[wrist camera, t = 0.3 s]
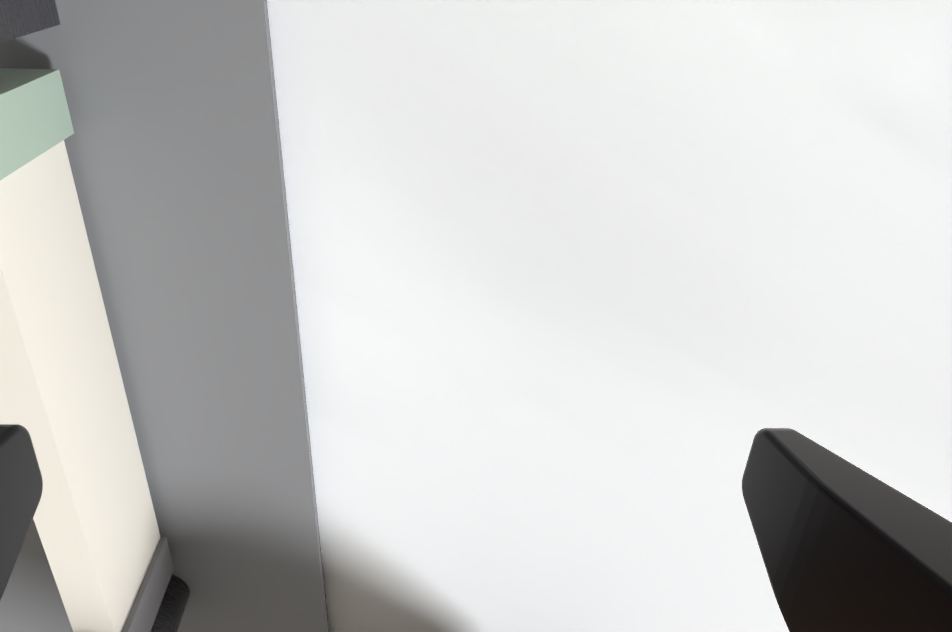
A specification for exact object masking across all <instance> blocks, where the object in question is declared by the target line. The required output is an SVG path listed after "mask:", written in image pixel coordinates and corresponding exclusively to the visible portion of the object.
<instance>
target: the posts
mask: <svg viewBox="0 0 952 632" xmlns="http://www.w3.org/2000/svg"><path fill="white" fill-rule="evenodd" d="M57 25H60V20H59V15H58V11H57V7H56V2H55V0H0V43H2V42H5V41H9V40H12V39H15V38H18V37H22V36H25V35H28V34H31V33H34V32H38V31H41V30H44V29H47V28H51V27H54V26H57ZM189 595H190V590H189V587H188V585H187V584H186V583H185V582H184V581H183V580H182V579H181V578H179V577H177V576H175V575H171V578H170V581H169V583H168V586H167V589H166V591H165V594H164V597H163V599H162V602H161V605H160V607H159V610H158V613H157V615H156V618H155V621H154V623H153V626H152V629H151V631H150V632H177V631H178V628H179V625H180V622H181V619H182V616H183V614H184V611H185V608H186V605H187V602H188V599H189Z"/></svg>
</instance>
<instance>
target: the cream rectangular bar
mask: <svg viewBox="0 0 952 632" xmlns="http://www.w3.org/2000/svg"><path fill="white" fill-rule="evenodd" d="M72 134H74V130H73V126H72V122H71V117H70V113H69V109H68V105H67V100H66V96H65V92H64V88H63V83H62V79H61V75H60V71H59V69H16V68H0V424H18V425H21V426H23V427H25V428H26V429H27V430H28V432H29V434H30V437H31V440H32V444H33V447H34V450H35V454H36V457H37V461H38V464H39V468H40V471H41V475H42V480H43V490H42V495H41V499H40V502H39V504H38V507H37V509H36V512H35V514H34V517H33V519H34V522H35V525H36V528H37V531H38V534H39V536H40V539H41V542H42V545H43V548H44V551H45V553H46V556H47V559H48V562H49V565H50V568H51V570H52V573H53V576H54V579H55V582H56V584H57V587H58V590H59V593H60V596H61V599H62V601H63V604H64V607H65V610H66V613H67V616H68V618H69V621H70V624H71V627H72V630H73V632H150V631H151V629H152V626H153V623H154V621H155V618H156V615H157V613H158V610H159V607H160V605H161V602H162V599H163V597H164V594H165V591H166V589H167V586H168V583H169V581H170V578H171V575H172V573H173V570H174V567H173V562H172V558H171V554H170V550H169V546H168V541H167V537H160V532H159V528H158V524H157V520H156V516H155V512H154V508H153V504H152V500H151V495H150V491H149V487H148V483H147V479H146V475H145V471H144V467H143V463H142V459H141V454H140V450H139V446H138V442H137V438H136V434H135V430H134V426H133V422H132V417H131V413H130V409H129V405H128V401H127V397H126V393H125V389H124V385H123V380H122V376H121V372H120V368H119V364H118V360H117V356H116V352H115V348H114V344H113V339H112V335H111V331H110V327H109V323H108V319H107V315H106V311H105V307H104V302H103V298H102V294H101V290H100V286H99V282H98V278H97V274H96V270H95V265H94V261H93V257H92V253H91V249H90V245H89V241H88V237H87V233H86V229H85V224H84V220H83V216H82V212H81V208H80V204H79V200H78V196H77V192H76V187H75V183H74V179H73V175H72V171H71V167H70V163H69V159H68V155H67V150H66V146H65V142H64V140H65V139H66V138H68V137H69V136H71V135H72Z"/></svg>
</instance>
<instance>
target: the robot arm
mask: <svg viewBox="0 0 952 632" xmlns="http://www.w3.org/2000/svg"><path fill="white" fill-rule="evenodd" d="M42 490H43V480H42V475H41V471H40V468H39V464H38V461H37V457H36V454H35V450H34V447H33V444H32V440H31V437H30V434H29V432H28V430H27V429H26V428H25V427H23V426H21V425H18V424H0V600H1V598H2V596H3V593H4V591H5V588H6V586H7V583H8V581H9V578H10V576H11V573H12V570H13V568H14V565H15V563H16V560H17V558H18V555H19V553H20V550H21V548H22V545H23V542H24V540H25V537H26V535H27V532H28V530H29V527H30V525H31V522H32V520H33V517H34V514H35V512H36V509H37V507H38V504H39V502H40V499H41V495H42ZM742 492H743V497H744V500H745V504H746V507H747V510H748V513H749V516H750V519H751V522H752V526H753V529H754V532H755V535H756V538H757V541H758V545H759V548H760V551H761V554H762V557H763V560H764V564H765V567H766V570H767V573H768V576H769V579H770V582H771V586H772V588H773V591H774V594H775V597H776V600H777V603H778V605H779V608H780V610H781V612H782V615H783V617H784V620H785V622H786V624H787V627H788V629H789V631H790V632H952V522H950V521H948V520H946V519H945V518H943V517H941V516H940V515H938V514H936V513H935V512H933V511H931V510H929V509H928V508H926V507H924V506H923V505H921V504H919V503H917V502H916V501H914V500H912V499H911V498H909V497H907V496H906V495H904V494H902V493H900V492H899V491H897V490H895V489H894V488H892V487H890V486H889V485H887V484H885V483H883V482H882V481H880V480H878V479H877V478H875V477H873V476H872V475H870V474H868V473H866V472H865V471H863V470H861V469H860V468H858V467H856V466H855V465H853V464H851V463H849V462H848V461H846V460H844V459H843V458H841V457H839V456H838V455H836V454H834V453H832V452H831V451H829V450H827V449H826V448H824V447H822V446H821V445H819V444H817V443H815V442H814V441H812V440H810V439H809V438H807V437H805V436H804V435H802V434H800V433H798V432H797V431H795V430H793V429H788V428H764V429H761V430H760V431H758V432H757V434H756V435H755V437H754V440H753V444H752V447H751V450H750V454H749V457H748V461H747V464H746V468H745V471H744V474H743V479H742Z"/></svg>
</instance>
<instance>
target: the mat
mask: <svg viewBox="0 0 952 632" xmlns="http://www.w3.org/2000/svg"><path fill="white" fill-rule="evenodd" d="M55 2H56V7H57V11H58V15H59V20H60V25H57V26H54V27H51V28H47V29H44V30H41V31H38V32H34V33H31V34H28V35H25V36H22V37H18V38H15V39H12V40H9V41H5V42H2V43H0V68H16V69H59V71H60V75H61V79H62V83H63V88H64V92H65V96H66V100H67V105H68V109H69V113H70V117H71V122H72V126H73V130H74V134H72V135H71V136H69V137H68V138H66V139H65V140H64V142H65V146H66V150H67V155H68V159H69V163H70V167H71V171H72V175H73V179H74V183H75V187H76V192H77V196H78V200H79V204H80V208H81V212H82V216H83V220H84V224H85V229H86V233H87V237H88V241H89V245H90V249H91V253H92V257H93V261H94V265H95V270H96V274H97V278H98V282H99V286H100V290H101V294H102V298H103V302H104V307H105V311H106V315H107V319H108V323H109V327H110V331H111V335H112V339H113V344H114V348H115V352H116V356H117V360H118V364H119V368H120V372H121V376H122V380H123V385H124V389H125V393H126V397H127V401H128V405H129V409H130V413H131V417H132V422H133V426H134V430H135V434H136V438H137V442H138V446H139V450H140V454H141V459H142V463H143V467H144V471H145V475H146V479H147V483H148V487H149V491H150V495H151V500H152V504H153V508H154V512H155V516H156V520H157V524H158V528H159V532H160V537H167V541H168V546H169V550H170V554H171V558H172V562H173V567H174V570H173V573H172V575H175V576H177V577H179V578H181V579H182V580H183V581H184V582H185V583H186V584H187V585H188V587H189V590H190V595H189V599H188V602H187V605H186V608H185V611H184V614H183V616H182V619H181V622H180V625H179V628H178V631H177V632H329V629H328V619H327V609H326V599H325V589H324V578H323V568H322V558H321V548H320V538H319V528H318V518H317V507H316V497H315V487H314V477H313V467H312V457H311V447H310V436H309V426H308V416H307V406H306V396H305V386H304V376H303V365H302V355H301V345H300V335H299V325H298V315H297V304H296V294H295V284H294V274H293V264H292V254H291V244H290V233H289V223H288V213H287V203H286V193H285V183H284V173H283V162H282V152H281V142H280V132H279V122H278V112H277V102H276V91H275V81H274V71H273V61H272V51H271V41H270V31H269V20H268V10H267V0H55ZM0 632H73V630H72V627H71V624H70V621H69V618H68V616H67V613H66V610H65V607H64V604H63V601H62V599H61V596H60V593H59V590H58V587H57V584H56V582H55V579H54V576H53V573H52V570H51V568H50V565H49V562H48V559H47V556H46V553H45V551H44V548H43V545H42V542H41V539H40V536H39V534H38V531H37V528H36V525H35V522H34V519H33V520H32V522H31V525H30V527H29V530H28V532H27V535H26V537H25V540H24V542H23V545H22V548H21V550H20V553H19V555H18V558H17V560H16V563H15V565H14V568H13V570H12V573H11V576H10V578H9V581H8V583H7V586H6V588H5V591H4V593H3V596H2V598H1V600H0Z"/></svg>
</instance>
